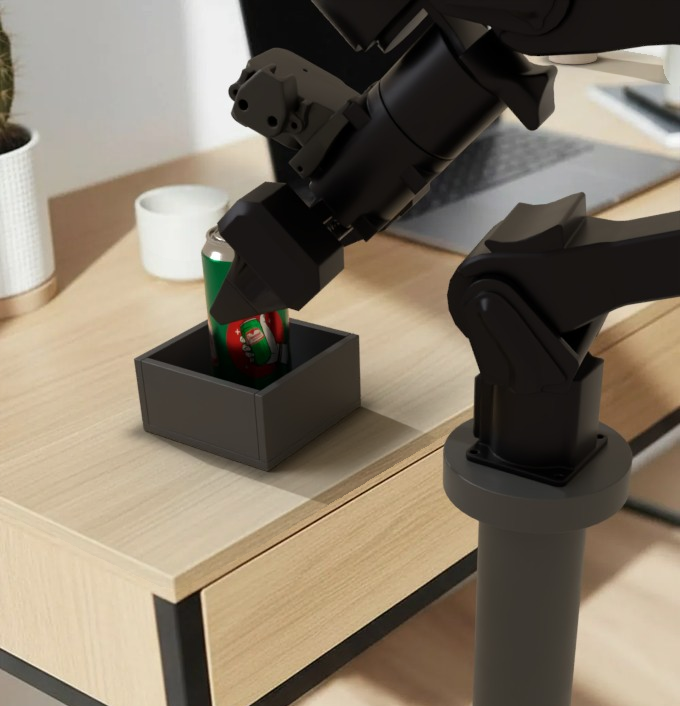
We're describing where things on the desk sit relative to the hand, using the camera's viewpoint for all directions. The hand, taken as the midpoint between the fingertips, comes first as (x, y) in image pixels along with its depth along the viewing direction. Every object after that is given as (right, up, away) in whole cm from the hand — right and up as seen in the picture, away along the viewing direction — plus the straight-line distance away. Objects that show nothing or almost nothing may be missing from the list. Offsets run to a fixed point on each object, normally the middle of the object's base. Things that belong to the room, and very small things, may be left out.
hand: (250, 289), depth 74 cm
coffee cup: (+38, +48, +91) cm, 110 cm away
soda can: (0, -7, +5) cm, 9 cm away
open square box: (0, -7, +5) cm, 9 cm away
